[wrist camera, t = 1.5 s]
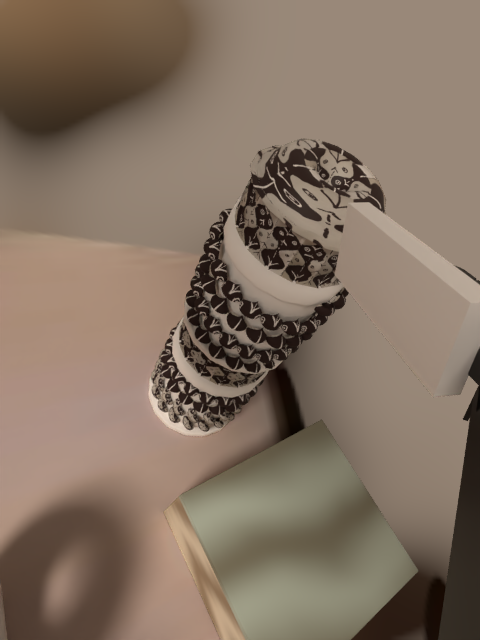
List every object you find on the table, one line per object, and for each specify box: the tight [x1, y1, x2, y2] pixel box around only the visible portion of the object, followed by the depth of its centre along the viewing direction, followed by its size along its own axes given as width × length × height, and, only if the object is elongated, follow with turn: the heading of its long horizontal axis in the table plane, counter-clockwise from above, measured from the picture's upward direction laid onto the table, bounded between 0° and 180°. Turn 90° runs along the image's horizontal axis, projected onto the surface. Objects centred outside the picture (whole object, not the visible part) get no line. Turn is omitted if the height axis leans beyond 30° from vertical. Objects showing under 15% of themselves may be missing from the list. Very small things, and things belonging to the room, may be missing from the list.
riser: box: [164, 420, 418, 640], centre depth 33 cm, size 13×14×5 cm
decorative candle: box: [148, 139, 386, 437], centre depth 30 cm, size 9×9×25 cm
